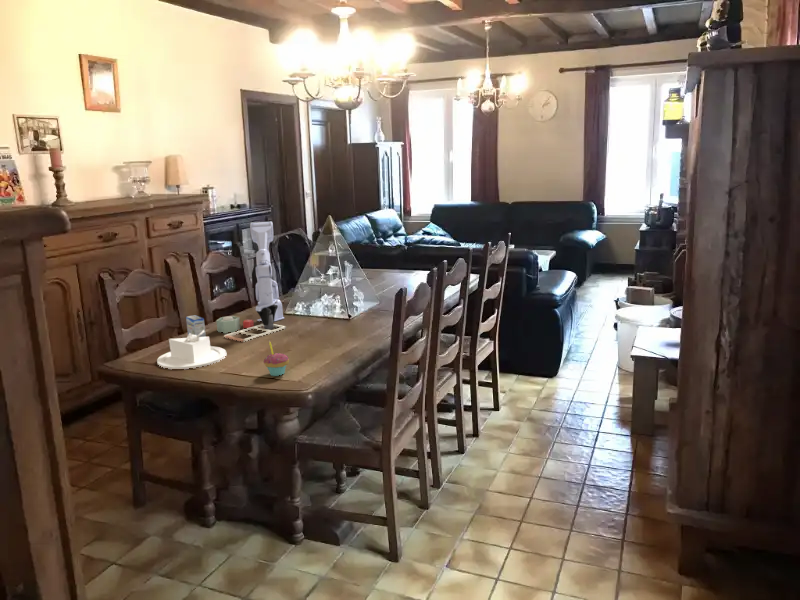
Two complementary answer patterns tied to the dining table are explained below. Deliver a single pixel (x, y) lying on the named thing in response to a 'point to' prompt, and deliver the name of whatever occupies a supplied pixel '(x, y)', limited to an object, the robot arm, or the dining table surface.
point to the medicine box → (195, 325)
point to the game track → (252, 333)
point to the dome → (228, 318)
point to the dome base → (228, 325)
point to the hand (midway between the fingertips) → (268, 323)
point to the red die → (248, 323)
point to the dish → (191, 353)
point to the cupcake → (276, 362)
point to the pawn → (269, 321)
